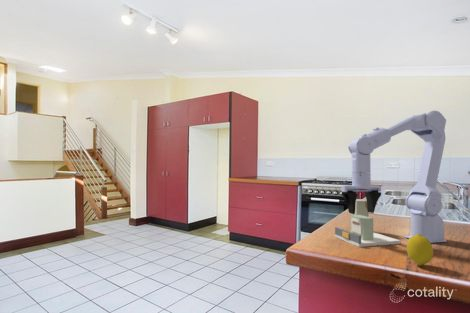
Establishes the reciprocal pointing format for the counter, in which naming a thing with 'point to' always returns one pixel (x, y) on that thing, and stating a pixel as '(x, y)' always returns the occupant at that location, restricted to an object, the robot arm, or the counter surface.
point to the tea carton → (362, 226)
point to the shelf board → (357, 241)
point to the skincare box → (361, 207)
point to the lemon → (419, 249)
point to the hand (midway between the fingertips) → (361, 213)
